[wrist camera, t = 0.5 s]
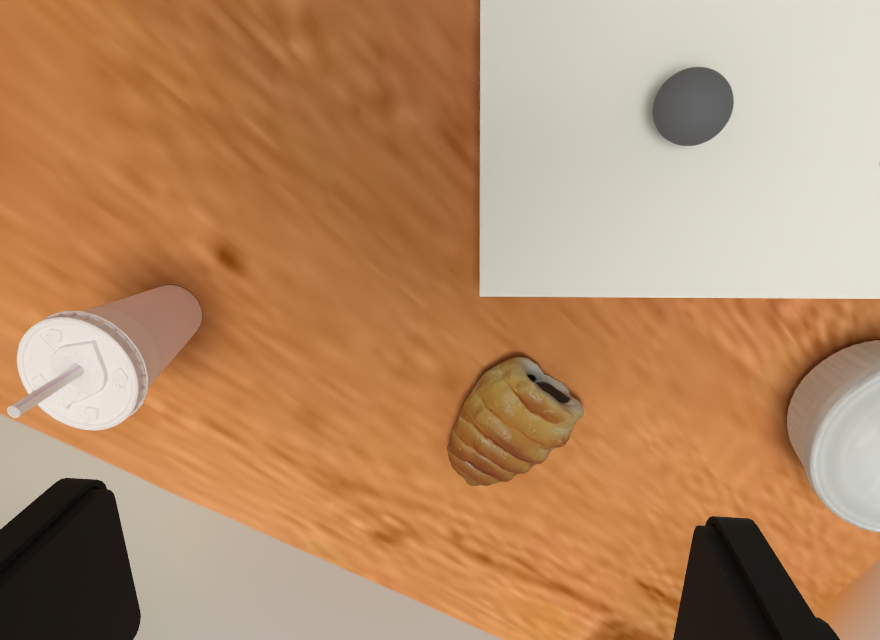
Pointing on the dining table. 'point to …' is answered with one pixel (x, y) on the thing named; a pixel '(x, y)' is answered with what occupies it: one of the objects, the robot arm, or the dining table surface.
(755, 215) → the board
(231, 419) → the dining table surface
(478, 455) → the pastry
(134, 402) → the smoothie
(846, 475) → the ramekin
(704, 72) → the ball
